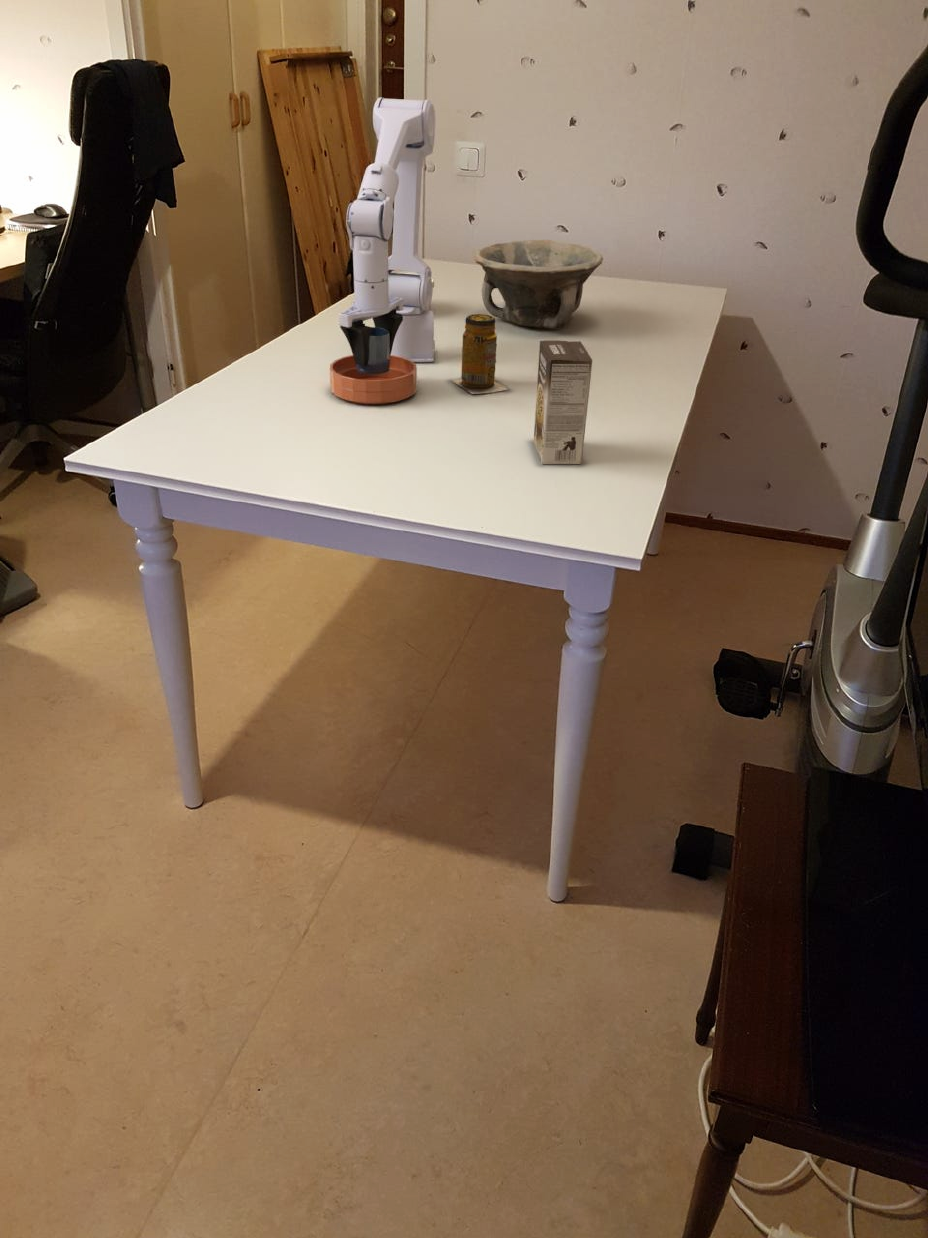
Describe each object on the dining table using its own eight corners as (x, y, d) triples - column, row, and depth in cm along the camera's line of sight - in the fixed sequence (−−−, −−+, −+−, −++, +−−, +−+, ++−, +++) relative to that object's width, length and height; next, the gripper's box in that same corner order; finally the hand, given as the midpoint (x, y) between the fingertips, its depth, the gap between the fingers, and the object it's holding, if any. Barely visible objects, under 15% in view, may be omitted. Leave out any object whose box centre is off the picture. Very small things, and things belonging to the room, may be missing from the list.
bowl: (453, 330, 199) (455, 256, 191) (497, 301, 220) (500, 233, 212) (575, 347, 191) (582, 271, 183) (608, 316, 212) (616, 246, 204)
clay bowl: (414, 377, 173) (414, 353, 170) (418, 406, 160) (418, 380, 158) (332, 377, 172) (331, 353, 169) (329, 406, 159) (328, 380, 157)
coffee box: (531, 441, 149) (538, 339, 140) (571, 441, 149) (581, 339, 140) (540, 465, 141) (548, 358, 132) (582, 464, 141) (593, 358, 133)
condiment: (486, 376, 175) (489, 310, 168) (508, 390, 168) (511, 322, 162) (451, 380, 172) (452, 314, 165) (471, 395, 166) (473, 327, 159)
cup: (389, 363, 166) (389, 326, 163) (390, 374, 162) (389, 336, 158) (356, 363, 166) (355, 326, 162) (356, 374, 161) (354, 336, 158)
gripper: (380, 267, 163) (381, 345, 170) (323, 282, 152) (327, 365, 160) (412, 273, 159) (412, 353, 167) (356, 289, 149) (359, 373, 156)
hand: (373, 360), depth 163 cm, fingers closed on cup, 6 cm apart
